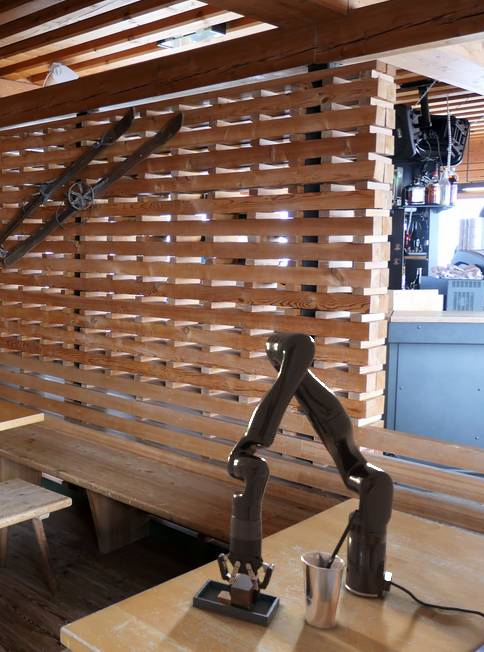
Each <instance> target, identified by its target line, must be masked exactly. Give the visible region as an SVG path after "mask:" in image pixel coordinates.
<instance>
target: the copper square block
mask: <svg viewBox="0 0 484 652" xmlns="http://www.w3.org/2000/svg"><path fill="white" fill-rule="evenodd" d="M217 603H220V604H224V605H228V606H230V603H231V596H230V594H229V592H226V591H221V593H220V594H219V595H218V597H217Z"/></svg>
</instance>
